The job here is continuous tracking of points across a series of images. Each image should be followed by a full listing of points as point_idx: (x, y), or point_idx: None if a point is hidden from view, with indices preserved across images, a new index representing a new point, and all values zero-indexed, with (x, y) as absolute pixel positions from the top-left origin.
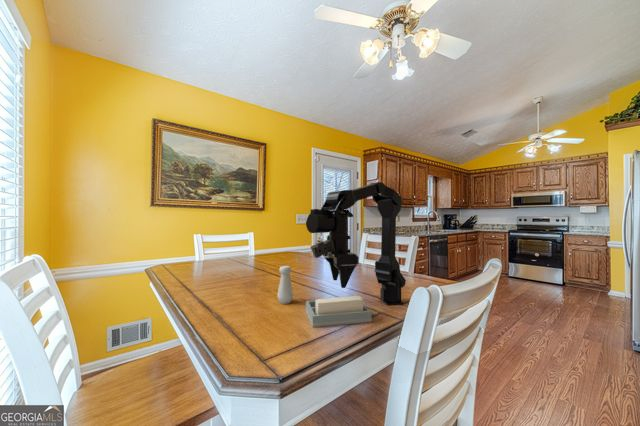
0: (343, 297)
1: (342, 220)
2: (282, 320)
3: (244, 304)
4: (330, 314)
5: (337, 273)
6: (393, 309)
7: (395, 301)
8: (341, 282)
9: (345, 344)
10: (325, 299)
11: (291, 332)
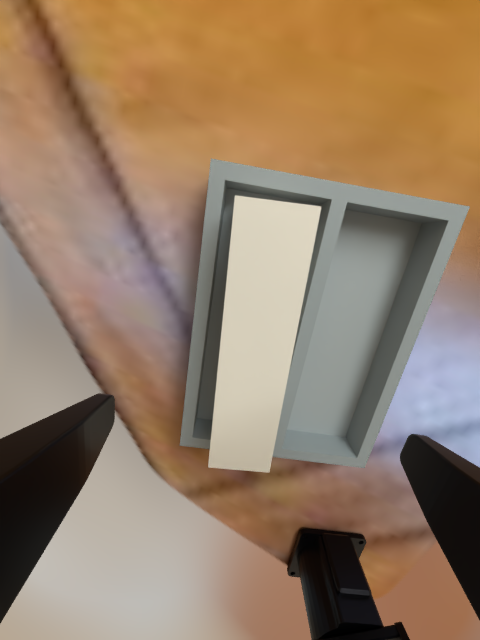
0: (279, 394)
1: None
2: (361, 24)
3: None
4: (204, 267)
5: (453, 541)
6: (259, 522)
7: (299, 561)
8: (37, 425)
9: (33, 248)
10: (290, 277)
11: (193, 37)
